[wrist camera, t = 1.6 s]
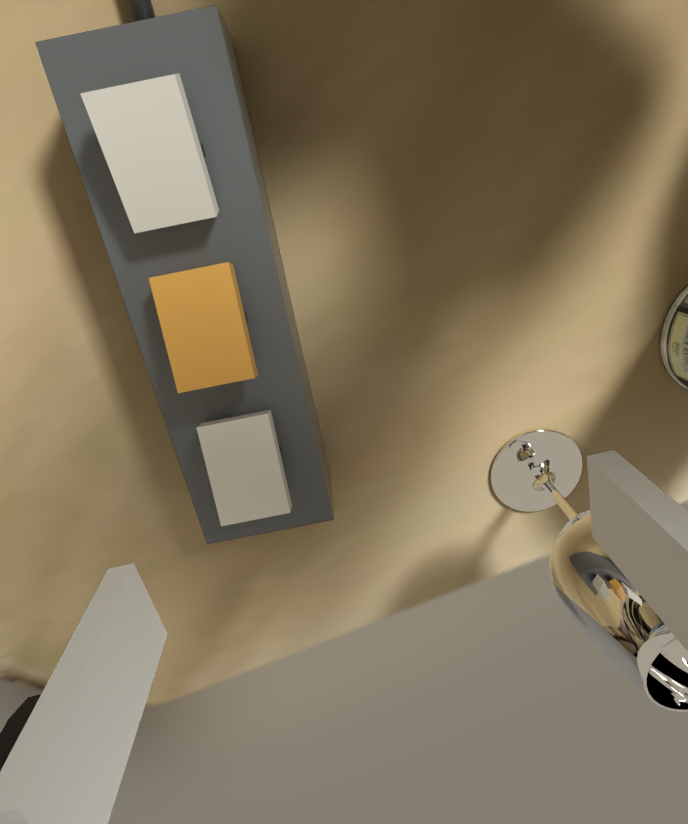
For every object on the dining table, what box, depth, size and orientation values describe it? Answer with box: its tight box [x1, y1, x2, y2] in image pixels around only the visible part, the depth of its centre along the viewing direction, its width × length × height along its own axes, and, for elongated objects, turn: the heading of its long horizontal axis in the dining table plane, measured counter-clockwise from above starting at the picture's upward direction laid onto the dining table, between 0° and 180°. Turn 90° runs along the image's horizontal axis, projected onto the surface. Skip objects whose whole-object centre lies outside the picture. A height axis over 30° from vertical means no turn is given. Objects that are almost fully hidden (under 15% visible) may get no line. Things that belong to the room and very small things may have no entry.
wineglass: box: [491, 429, 688, 712], centre depth 35 cm, size 8×8×20 cm
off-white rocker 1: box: [80, 73, 219, 233], centre depth 27 cm, size 6×4×1 cm
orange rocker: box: [149, 262, 258, 393], centre depth 30 cm, size 6×4×1 cm
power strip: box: [35, 0, 334, 544], centre depth 33 cm, size 36×9×7 cm, turn 11°
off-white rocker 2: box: [197, 410, 292, 526], centre depth 34 cm, size 6×4×1 cm
